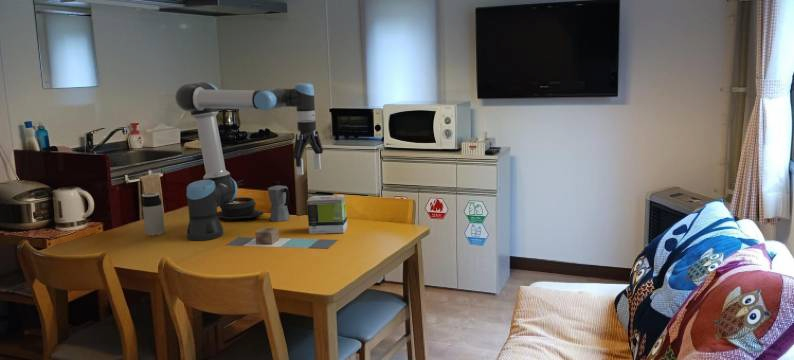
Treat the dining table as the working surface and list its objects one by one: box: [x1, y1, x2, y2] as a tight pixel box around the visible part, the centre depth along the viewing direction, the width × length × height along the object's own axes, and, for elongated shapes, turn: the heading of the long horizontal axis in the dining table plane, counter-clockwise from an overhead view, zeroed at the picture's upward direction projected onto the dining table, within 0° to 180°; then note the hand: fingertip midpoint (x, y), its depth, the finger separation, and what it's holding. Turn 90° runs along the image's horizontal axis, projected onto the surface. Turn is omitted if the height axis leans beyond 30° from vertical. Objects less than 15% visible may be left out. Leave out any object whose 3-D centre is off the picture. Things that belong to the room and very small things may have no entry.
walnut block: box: [254, 227, 280, 245], centre depth 268 cm, size 7×7×5 cm
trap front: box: [308, 238, 339, 250], centre depth 263 cm, size 8×12×1 cm, turn 166°
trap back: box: [225, 236, 255, 247], centre depth 271 cm, size 8×12×1 cm, turn 166°
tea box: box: [306, 194, 348, 235], centre depth 282 cm, size 15×10×15 cm
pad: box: [279, 238, 320, 249], centre depth 265 cm, size 12×12×1 cm
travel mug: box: [141, 192, 166, 236], centre depth 288 cm, size 8×8×18 cm
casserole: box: [217, 196, 265, 221], centre depth 314 cm, size 25×19×8 cm
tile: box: [242, 237, 291, 248], centre depth 269 cm, size 16×12×1 cm
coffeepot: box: [267, 181, 291, 223], centre depth 305 cm, size 15×9×18 cm, turn 43°
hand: (309, 171), depth 277 cm, fingers open, 13 cm apart
